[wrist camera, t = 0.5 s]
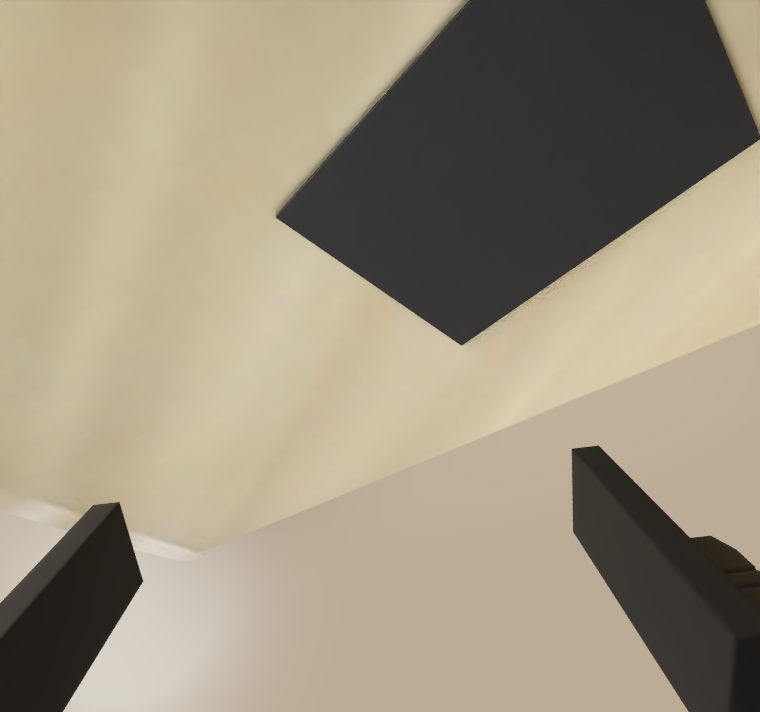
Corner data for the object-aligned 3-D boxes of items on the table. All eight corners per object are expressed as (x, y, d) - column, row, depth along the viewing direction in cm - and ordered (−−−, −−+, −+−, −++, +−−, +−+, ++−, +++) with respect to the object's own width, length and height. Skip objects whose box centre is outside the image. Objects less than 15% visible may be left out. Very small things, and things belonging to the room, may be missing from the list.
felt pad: (629, -178, 17) (631, -177, 17) (759, 136, 26) (761, 138, 26) (275, 215, 27) (275, 217, 26) (461, 343, 36) (461, 345, 36)
